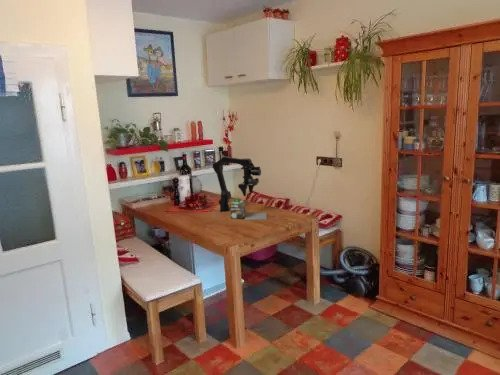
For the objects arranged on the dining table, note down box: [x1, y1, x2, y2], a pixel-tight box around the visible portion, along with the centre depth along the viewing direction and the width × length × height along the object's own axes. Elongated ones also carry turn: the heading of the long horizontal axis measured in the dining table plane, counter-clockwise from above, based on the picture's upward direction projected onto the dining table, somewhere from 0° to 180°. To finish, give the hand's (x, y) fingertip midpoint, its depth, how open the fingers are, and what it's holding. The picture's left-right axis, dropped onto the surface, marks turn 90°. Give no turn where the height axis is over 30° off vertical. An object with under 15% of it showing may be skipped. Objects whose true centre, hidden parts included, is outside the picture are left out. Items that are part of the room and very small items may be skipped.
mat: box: [243, 212, 268, 221], centre depth 274 cm, size 16×16×1 cm
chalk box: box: [228, 197, 247, 219], centre depth 273 cm, size 9×9×15 cm
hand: (247, 194), depth 285 cm, fingers open, 9 cm apart
